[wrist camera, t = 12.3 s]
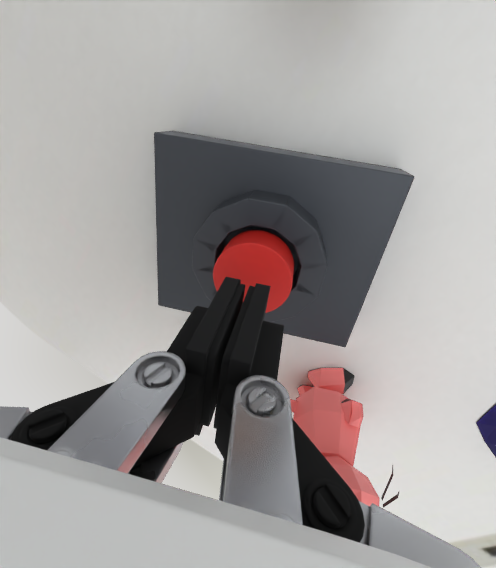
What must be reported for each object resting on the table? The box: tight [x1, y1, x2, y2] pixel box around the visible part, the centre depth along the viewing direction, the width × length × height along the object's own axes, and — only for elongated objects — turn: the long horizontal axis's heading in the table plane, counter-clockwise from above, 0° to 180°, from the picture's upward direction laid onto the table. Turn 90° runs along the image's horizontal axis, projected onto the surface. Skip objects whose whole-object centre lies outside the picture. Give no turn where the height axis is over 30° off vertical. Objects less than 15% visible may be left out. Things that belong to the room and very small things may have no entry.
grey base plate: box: [154, 131, 414, 347], centre depth 16 cm, size 12×10×4 cm
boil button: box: [213, 230, 294, 313], centre depth 14 cm, size 4×4×2 cm
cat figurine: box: [290, 368, 399, 507], centre depth 17 cm, size 7×7×12 cm
